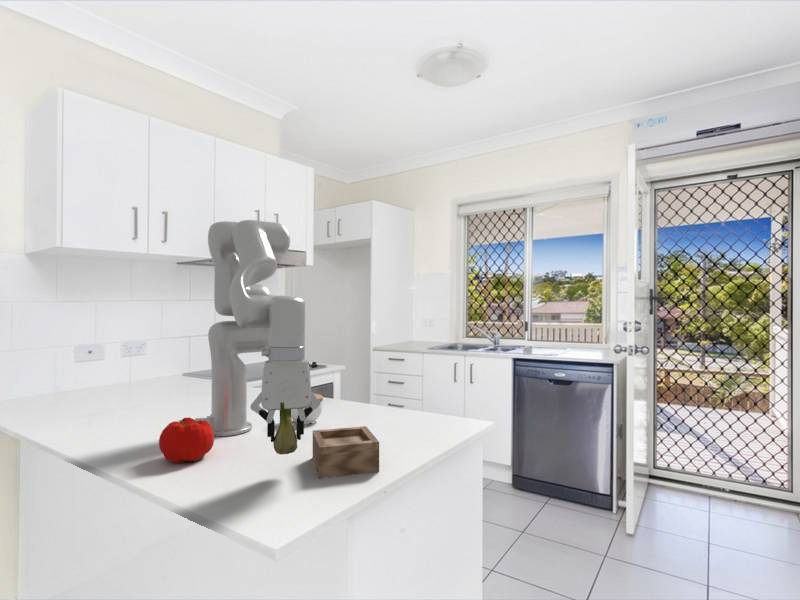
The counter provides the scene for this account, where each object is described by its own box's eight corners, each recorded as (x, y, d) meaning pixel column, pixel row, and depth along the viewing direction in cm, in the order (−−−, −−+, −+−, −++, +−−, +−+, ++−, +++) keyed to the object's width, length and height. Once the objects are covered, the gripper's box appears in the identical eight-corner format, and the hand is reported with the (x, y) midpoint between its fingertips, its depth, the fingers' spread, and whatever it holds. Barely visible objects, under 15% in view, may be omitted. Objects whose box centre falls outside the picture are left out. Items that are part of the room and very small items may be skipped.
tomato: (211, 463, 102) (211, 424, 103) (153, 469, 99) (153, 428, 99) (216, 449, 113) (216, 413, 113) (163, 453, 109) (164, 416, 109)
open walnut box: (319, 478, 94) (319, 447, 94) (312, 457, 106) (312, 430, 106) (379, 471, 98) (379, 441, 98) (365, 452, 110) (365, 426, 110)
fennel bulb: (284, 459, 92) (283, 401, 92) (266, 454, 95) (266, 398, 94) (303, 450, 97) (302, 395, 97) (286, 446, 100) (286, 393, 99)
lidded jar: (326, 424, 136) (326, 393, 136) (290, 428, 132) (290, 396, 132) (319, 416, 146) (319, 387, 146) (285, 419, 142) (285, 389, 142)
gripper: (244, 357, 90) (243, 448, 90) (329, 355, 95) (327, 441, 95) (245, 353, 97) (244, 436, 97) (324, 351, 102) (323, 430, 102)
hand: (285, 438), depth 96 cm, fingers closed on fennel bulb, 4 cm apart
